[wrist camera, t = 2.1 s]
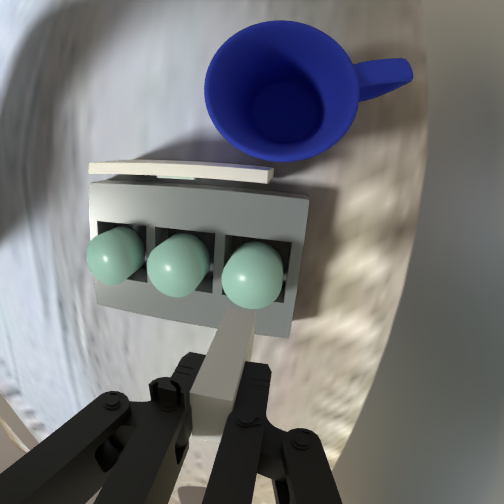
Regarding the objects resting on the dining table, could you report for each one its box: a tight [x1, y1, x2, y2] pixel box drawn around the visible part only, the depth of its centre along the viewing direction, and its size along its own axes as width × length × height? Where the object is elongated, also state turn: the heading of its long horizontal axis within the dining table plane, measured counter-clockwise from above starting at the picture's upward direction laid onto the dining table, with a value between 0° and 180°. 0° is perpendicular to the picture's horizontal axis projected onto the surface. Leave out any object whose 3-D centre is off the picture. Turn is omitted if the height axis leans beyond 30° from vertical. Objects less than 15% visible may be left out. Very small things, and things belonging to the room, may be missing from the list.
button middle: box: [147, 233, 210, 297], centre depth 24 cm, size 4×4×3 cm
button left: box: [87, 226, 145, 285], centre depth 25 cm, size 4×4×3 cm
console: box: [89, 180, 309, 338], centre depth 27 cm, size 19×12×3 cm, turn 85°
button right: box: [222, 241, 283, 309], centre depth 24 cm, size 4×4×3 cm
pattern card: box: [89, 160, 274, 184], centre depth 22 cm, size 13×1×7 cm, turn 85°
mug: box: [204, 20, 413, 162], centre depth 18 cm, size 8×12×10 cm
